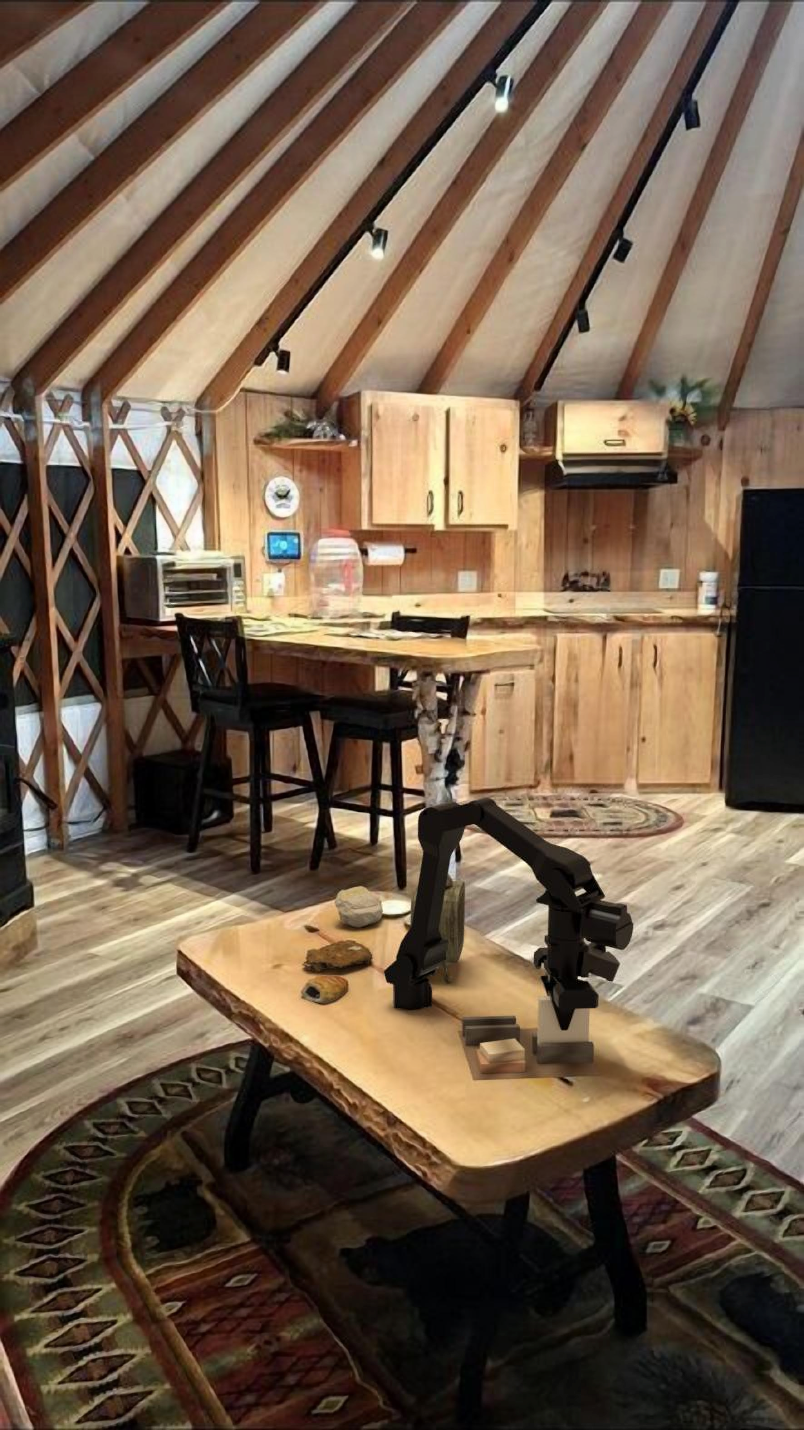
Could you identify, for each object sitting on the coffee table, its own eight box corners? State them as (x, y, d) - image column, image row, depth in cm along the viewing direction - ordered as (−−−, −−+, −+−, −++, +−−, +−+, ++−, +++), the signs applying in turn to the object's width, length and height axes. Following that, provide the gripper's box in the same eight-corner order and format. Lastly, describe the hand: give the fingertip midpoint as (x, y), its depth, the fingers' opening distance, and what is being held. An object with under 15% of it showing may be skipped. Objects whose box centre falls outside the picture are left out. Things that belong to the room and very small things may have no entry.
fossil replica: (392, 919, 234) (352, 917, 237) (390, 883, 233) (350, 882, 237) (371, 932, 222) (329, 930, 226) (369, 894, 222) (328, 893, 226)
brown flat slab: (327, 986, 197) (382, 967, 208) (328, 965, 197) (383, 948, 207) (289, 966, 205) (344, 949, 216) (290, 947, 204) (345, 931, 215)
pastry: (330, 982, 198) (330, 963, 197) (357, 991, 194) (357, 972, 193) (298, 998, 190) (298, 979, 190) (325, 1008, 186) (325, 988, 186)
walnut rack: (473, 1089, 157) (473, 1061, 156) (457, 1039, 174) (458, 1014, 173) (600, 1084, 159) (601, 1057, 158) (573, 1035, 175) (573, 1010, 175)
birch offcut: (489, 1063, 159) (489, 1054, 159) (479, 1052, 163) (479, 1043, 162) (524, 1058, 161) (524, 1049, 160) (514, 1047, 164) (514, 1038, 164)
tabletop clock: (455, 988, 195) (457, 861, 192) (409, 984, 197) (409, 858, 193) (464, 959, 209) (465, 841, 206) (420, 956, 211) (421, 839, 207)
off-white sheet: (538, 1059, 163) (540, 1000, 162) (536, 1054, 165) (538, 996, 164) (587, 1058, 164) (590, 999, 163) (585, 1053, 166) (587, 994, 164)
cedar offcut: (480, 1073, 159) (481, 1064, 159) (475, 1058, 164) (476, 1049, 164) (525, 1071, 159) (525, 1062, 159) (518, 1056, 164) (519, 1047, 164)
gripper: (633, 955, 153) (629, 1053, 155) (599, 913, 172) (596, 1001, 174) (560, 956, 152) (557, 1055, 154) (534, 914, 171) (531, 1003, 173)
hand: (562, 1027), depth 164 cm, fingers closed on off-white sheet, 2 cm apart
